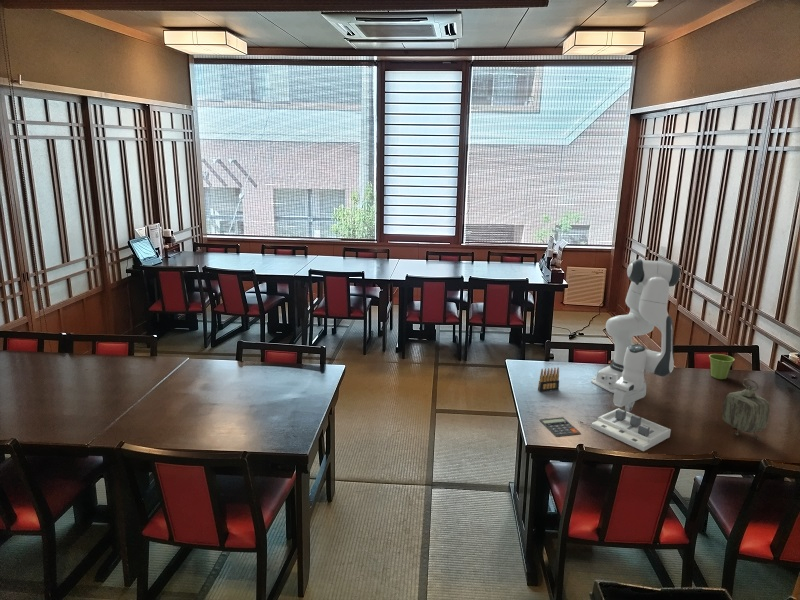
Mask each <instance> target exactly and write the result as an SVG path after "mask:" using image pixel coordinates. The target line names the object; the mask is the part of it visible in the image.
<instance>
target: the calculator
mask: <svg viewBox="0 0 800 600" xmlns="http://www.w3.org/2000/svg"><path fill="white" fill-rule="evenodd" d="M539 422H540V423H541V424H542V425H543V426H544V427H545V428H546V429H547V430H548V431H549V432H551V434H553V436H554V437H555V438H557V437H559V438H560V437H566V436H574V435H575V436H576V435H577V436H578V435H581V434H582V433H581V432H580V431H579V430H578V429H577V428H576V427H575V426H574V425H572V423H570V421H568V420H567V419H566V418H565V417H564V416H561V417H551V418H549V417H548V418H541V419H539Z"/></svg>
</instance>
